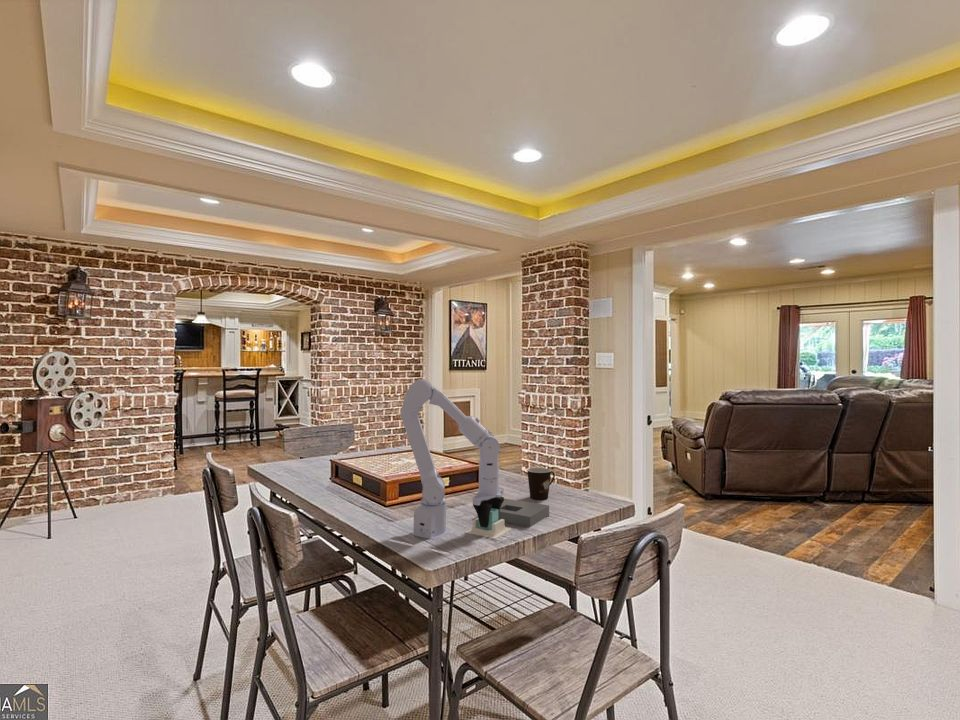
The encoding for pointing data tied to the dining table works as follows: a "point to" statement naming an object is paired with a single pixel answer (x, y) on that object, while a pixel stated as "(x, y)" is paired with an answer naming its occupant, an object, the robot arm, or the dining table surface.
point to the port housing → (522, 512)
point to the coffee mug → (539, 482)
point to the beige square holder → (496, 531)
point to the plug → (491, 518)
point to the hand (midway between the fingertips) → (488, 524)
